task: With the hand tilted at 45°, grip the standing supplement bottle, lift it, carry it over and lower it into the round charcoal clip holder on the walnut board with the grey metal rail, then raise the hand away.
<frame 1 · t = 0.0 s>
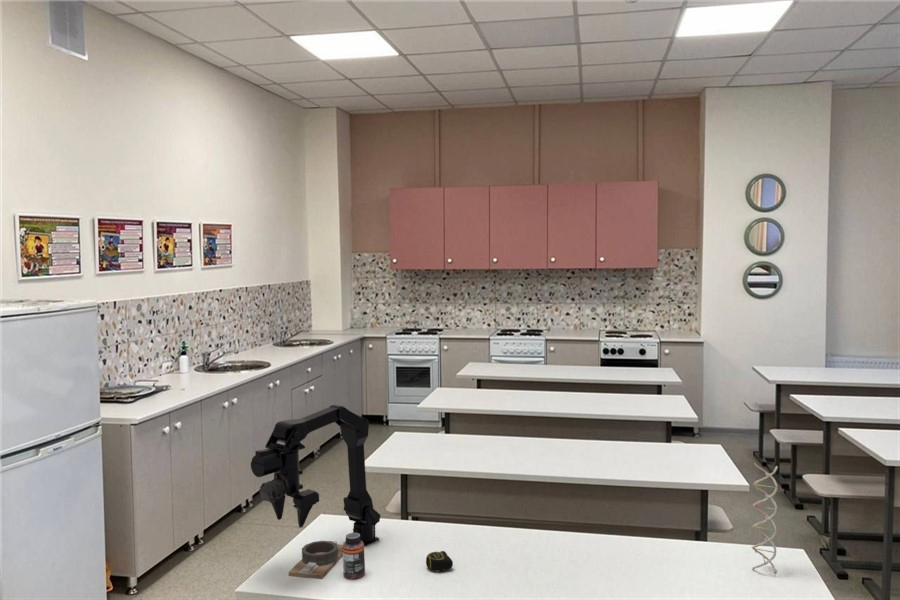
hand: (290, 523, 194), 15 cm above the table, fingers open, 9 cm apart
dna model: (763, 572, 193), on the table
clip holder: (320, 561, 203), on the table
tape measure: (440, 568, 199), on the table
supplement bottle: (354, 575, 195), on the table
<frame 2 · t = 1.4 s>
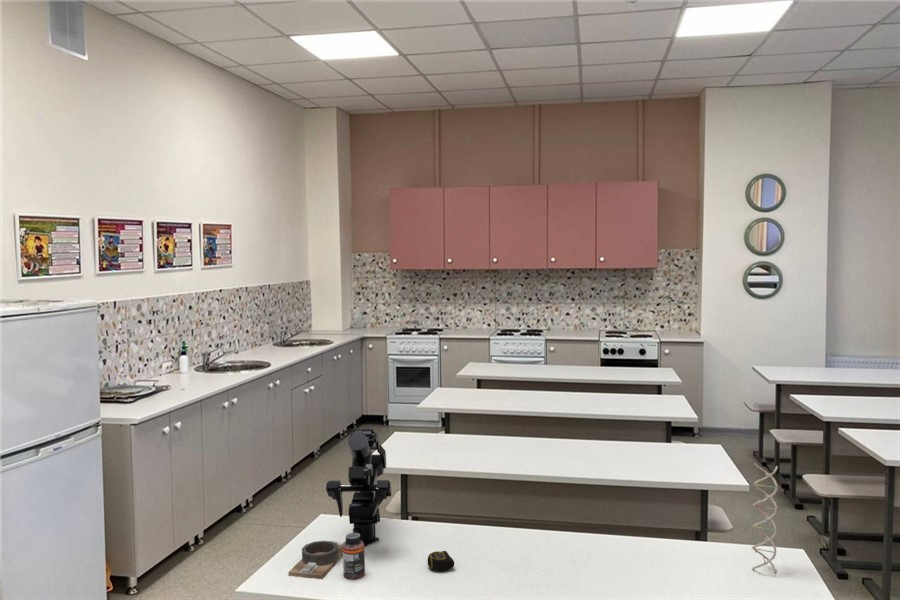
hand: (356, 516, 202), 13 cm above the table, fingers open, 9 cm apart
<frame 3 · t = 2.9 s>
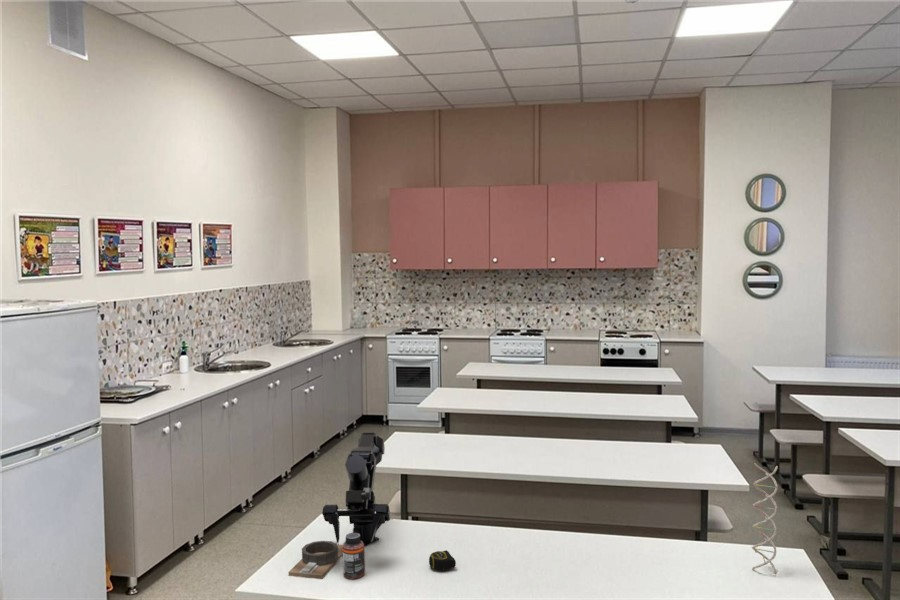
hand: (354, 542, 195), 9 cm above the table, fingers open, 9 cm apart
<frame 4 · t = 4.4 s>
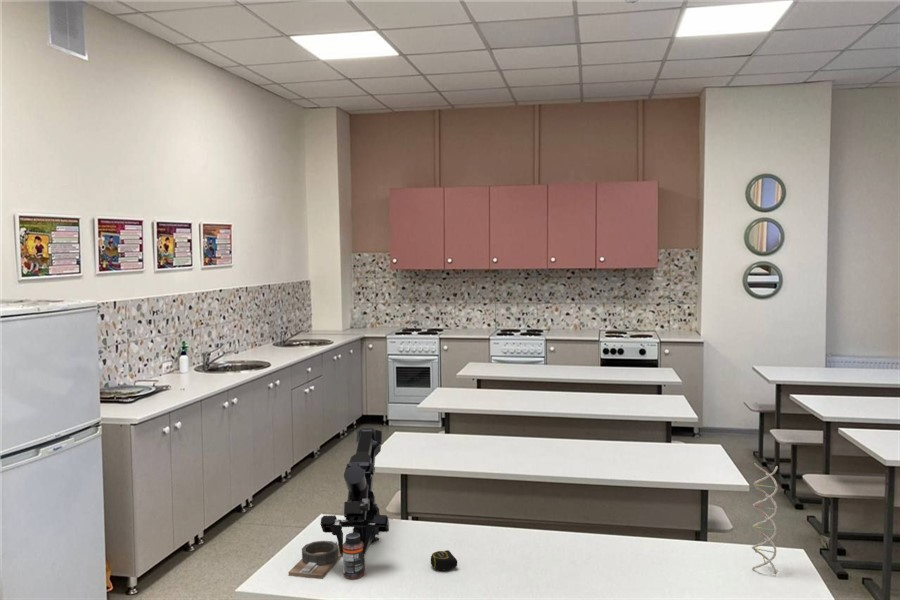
hand: (352, 553, 193), 7 cm above the table, fingers closed on supplement bottle, 6 cm apart
supplement bottle: (354, 575, 195), on the table, touching gripper
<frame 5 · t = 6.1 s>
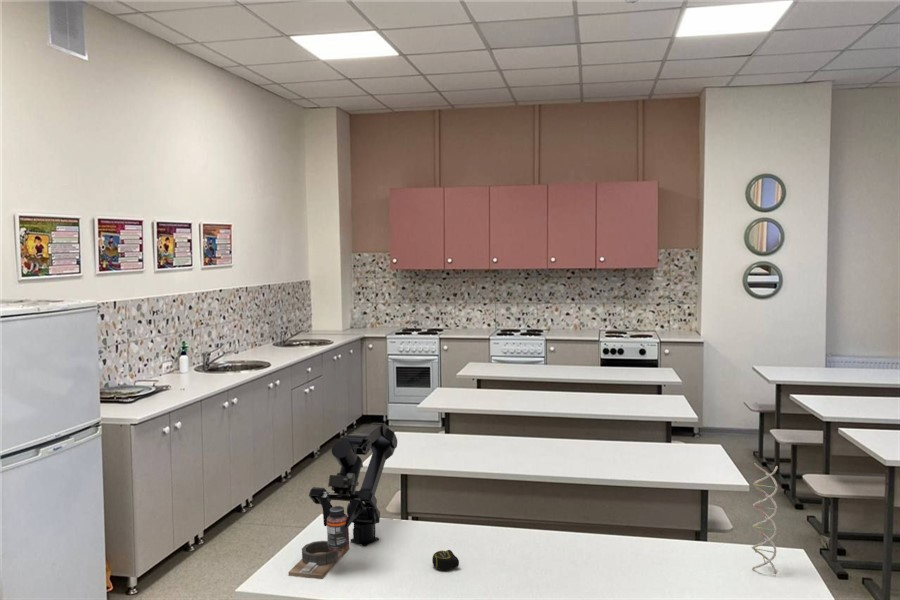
hand: (335, 526, 195), 13 cm above the table, fingers closed on supplement bottle, 6 cm apart
supplement bottle: (338, 548, 197), point 6 cm above the table, touching gripper
when the fingers open (9 cm above the table, at t = 8.3 s): supplement bottle stays where it is, resting on clip holder.
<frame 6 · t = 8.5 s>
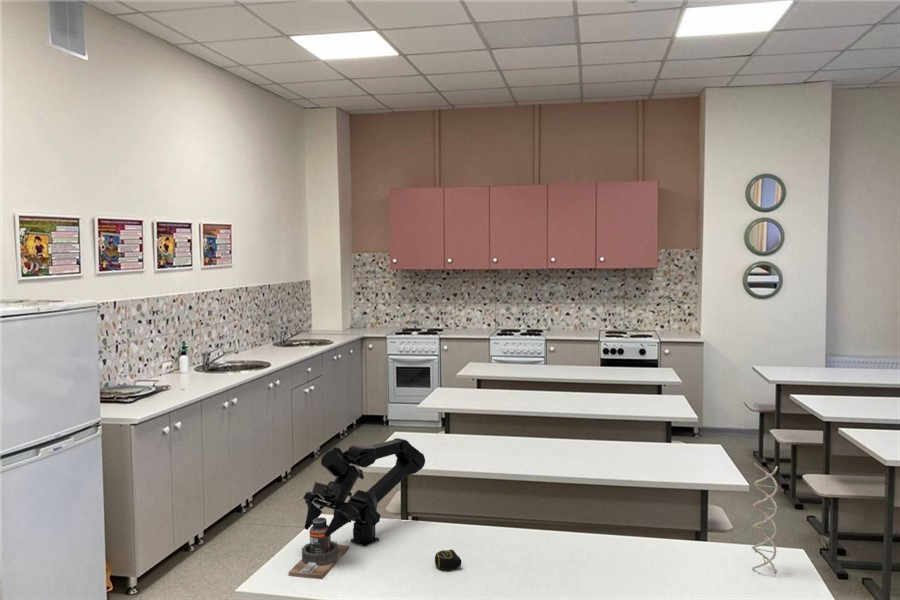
hand: (315, 532, 201), 9 cm above the table, fingers open, 8 cm apart
supplement bottle: (320, 558, 203), point 1 cm above the table, touching clip holder
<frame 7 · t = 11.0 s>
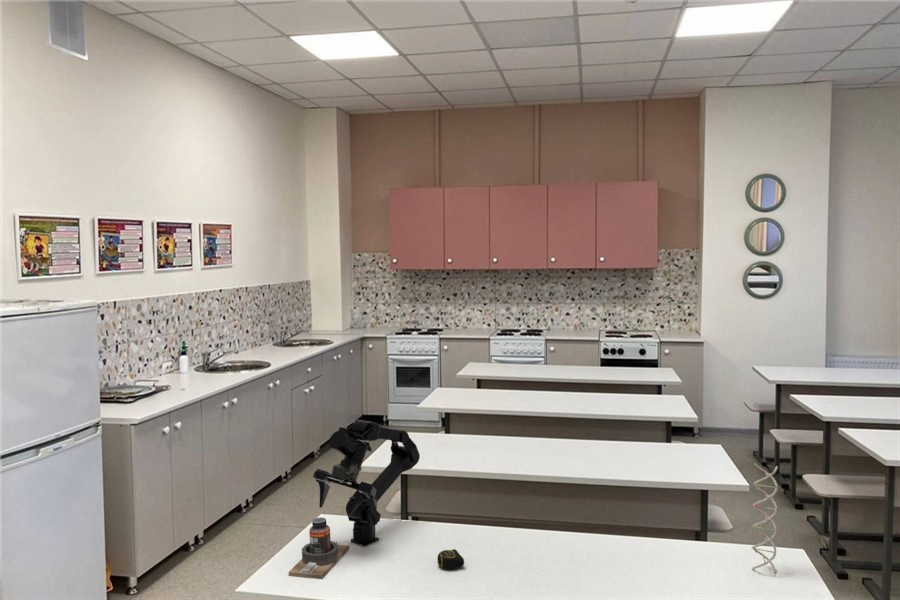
hand: (334, 511, 205), 13 cm above the table, fingers open, 9 cm apart
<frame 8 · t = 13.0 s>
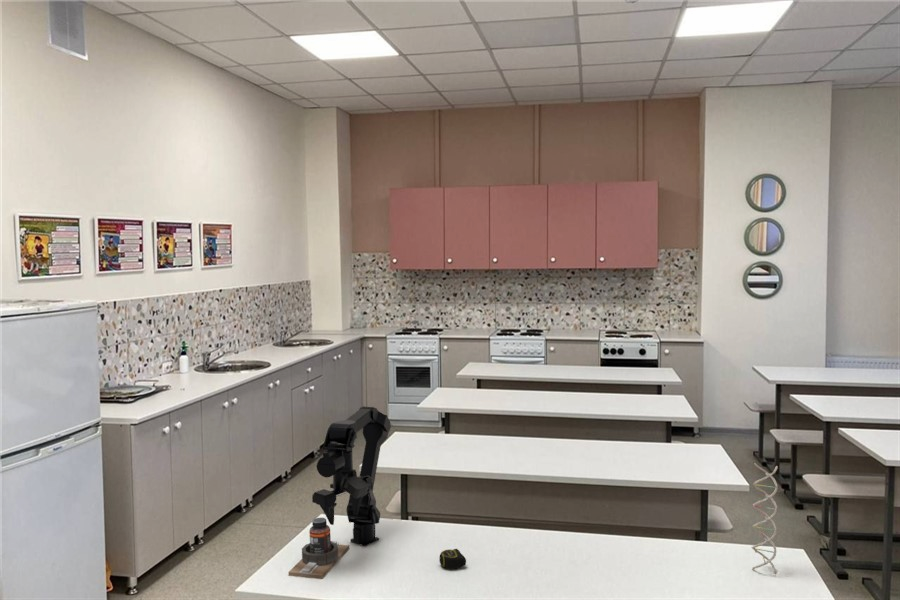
hand: (343, 519, 203), 12 cm above the table, fingers open, 9 cm apart
at the end: supplement bottle 0.1 cm off-centre on the clip holder, point 0.8 cm above the clip holder's base; supplement bottle tilted 0°; the gripper is holding nothing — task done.
